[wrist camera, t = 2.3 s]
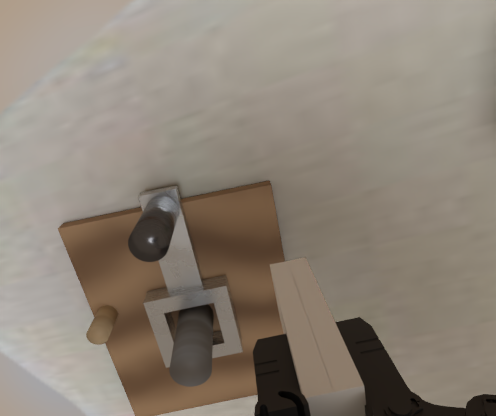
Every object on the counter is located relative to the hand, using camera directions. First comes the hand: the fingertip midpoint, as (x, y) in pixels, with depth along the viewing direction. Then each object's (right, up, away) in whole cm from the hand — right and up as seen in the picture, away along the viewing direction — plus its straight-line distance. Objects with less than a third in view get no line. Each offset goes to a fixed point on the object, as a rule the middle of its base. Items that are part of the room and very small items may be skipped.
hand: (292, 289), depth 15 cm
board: (-7, -6, +20) cm, 22 cm away
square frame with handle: (-7, -2, +17) cm, 19 cm away
